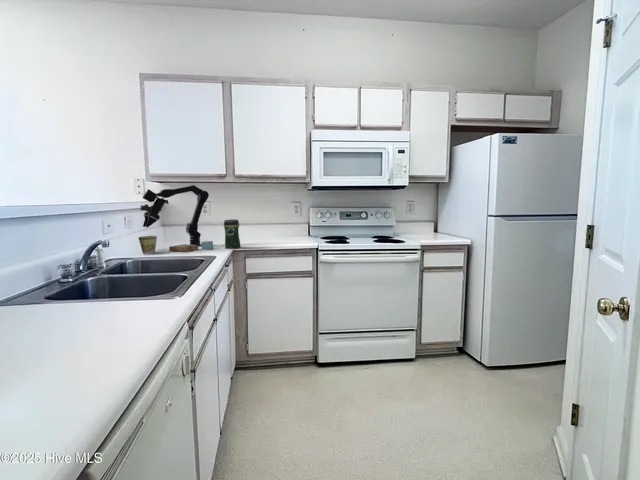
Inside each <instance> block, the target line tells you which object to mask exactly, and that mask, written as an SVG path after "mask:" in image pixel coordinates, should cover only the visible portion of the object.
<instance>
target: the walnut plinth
mask: <svg viewBox="0 0 640 480" xmlns="http://www.w3.org/2000/svg"><path fill="white" fill-rule="evenodd" d="M168 249H169V250H168V251H169V252H173V253H175V252H176V253H187V252H192V251H197V250H199V246H198V245H190V244H186V243H183V244H178V245H172V246H171V245H170V246H169V247H168Z"/></svg>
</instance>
